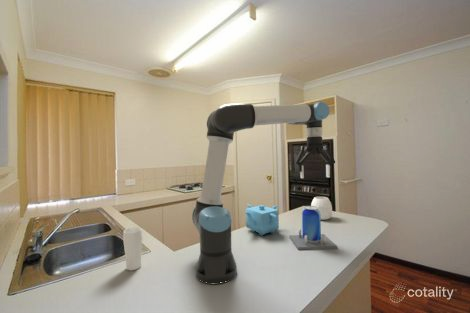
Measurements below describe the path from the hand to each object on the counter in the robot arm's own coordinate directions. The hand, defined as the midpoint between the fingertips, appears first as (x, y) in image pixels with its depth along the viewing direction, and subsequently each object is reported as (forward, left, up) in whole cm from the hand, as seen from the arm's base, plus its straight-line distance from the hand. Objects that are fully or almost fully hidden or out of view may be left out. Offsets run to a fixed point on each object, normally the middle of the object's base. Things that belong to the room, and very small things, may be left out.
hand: (315, 177), depth 112 cm
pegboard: (-5, -7, -31) cm, 32 cm away
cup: (+16, +30, -31) cm, 46 cm away
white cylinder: (-83, -24, -31) cm, 92 cm away
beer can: (-5, -7, -30) cm, 31 cm away
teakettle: (-27, +11, -31) cm, 42 cm away
